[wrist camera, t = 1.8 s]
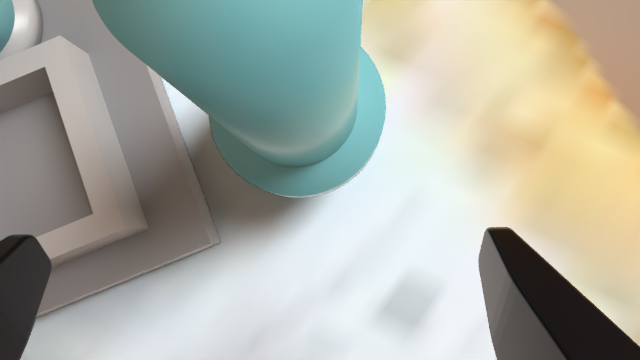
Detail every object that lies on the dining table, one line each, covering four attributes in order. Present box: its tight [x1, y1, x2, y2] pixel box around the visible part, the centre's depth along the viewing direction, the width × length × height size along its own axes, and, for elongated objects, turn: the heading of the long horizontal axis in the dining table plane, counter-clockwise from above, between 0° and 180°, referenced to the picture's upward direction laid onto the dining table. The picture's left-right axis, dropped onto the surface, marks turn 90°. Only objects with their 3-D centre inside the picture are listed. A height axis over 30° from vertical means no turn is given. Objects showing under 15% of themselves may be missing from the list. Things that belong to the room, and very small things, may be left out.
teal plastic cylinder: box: [92, 0, 386, 198], centre depth 14 cm, size 6×6×14 cm
